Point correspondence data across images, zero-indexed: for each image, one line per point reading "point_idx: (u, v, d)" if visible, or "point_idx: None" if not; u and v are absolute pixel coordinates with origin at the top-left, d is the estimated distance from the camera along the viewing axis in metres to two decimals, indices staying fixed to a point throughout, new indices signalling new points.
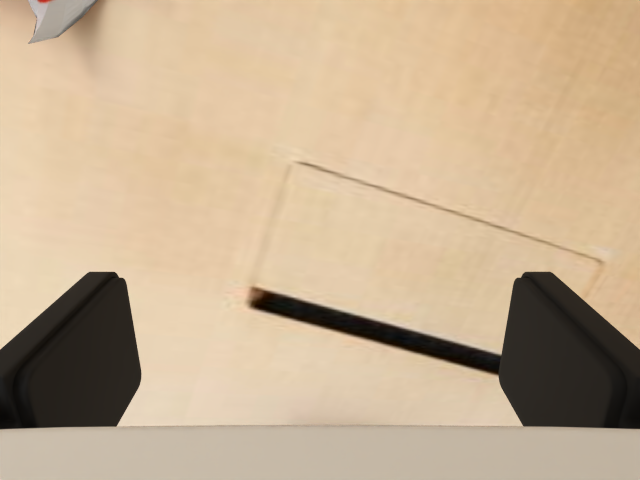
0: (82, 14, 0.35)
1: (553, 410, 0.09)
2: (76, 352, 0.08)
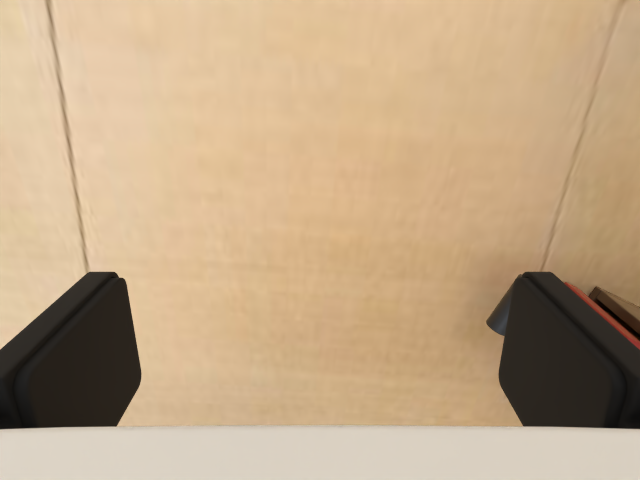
0: None
1: (553, 410, 0.09)
2: (76, 352, 0.08)
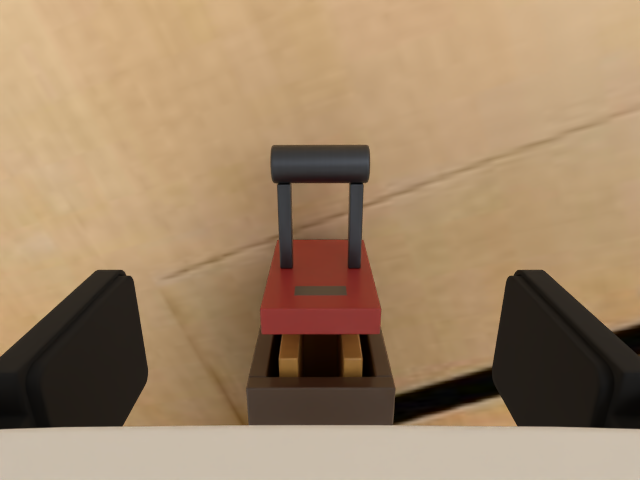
0: None
1: (544, 406, 0.09)
2: (86, 349, 0.08)
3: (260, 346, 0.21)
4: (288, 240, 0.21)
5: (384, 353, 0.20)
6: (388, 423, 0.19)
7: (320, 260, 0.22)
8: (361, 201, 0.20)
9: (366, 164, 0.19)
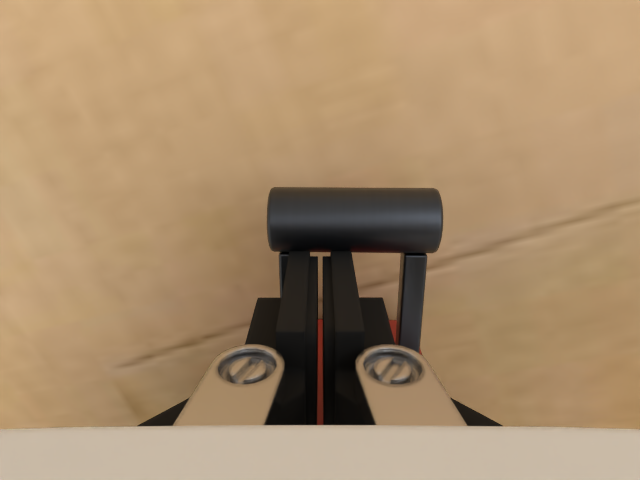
0: None
1: None
2: None
3: None
4: None
5: None
6: None
7: None
8: (422, 283, 0.12)
9: (437, 225, 0.11)
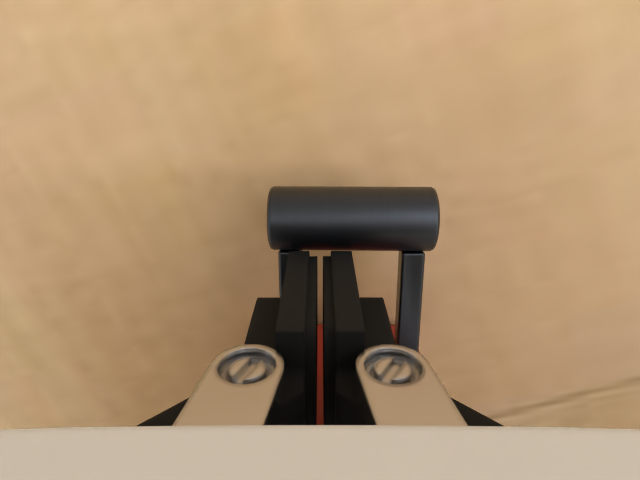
0: None
1: (323, 369, 0.10)
2: (316, 317, 0.09)
3: None
4: None
5: None
6: None
7: None
8: (420, 281, 0.12)
9: (434, 221, 0.11)
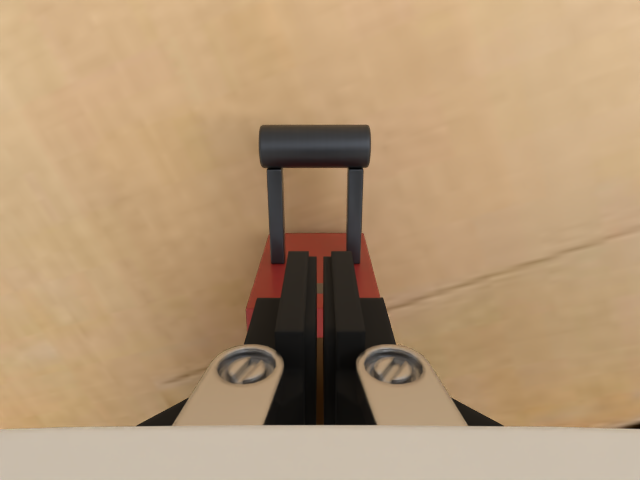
0: None
1: None
2: None
3: None
4: (279, 232, 0.19)
5: None
6: None
7: (315, 255, 0.20)
8: (361, 188, 0.18)
9: (366, 146, 0.17)
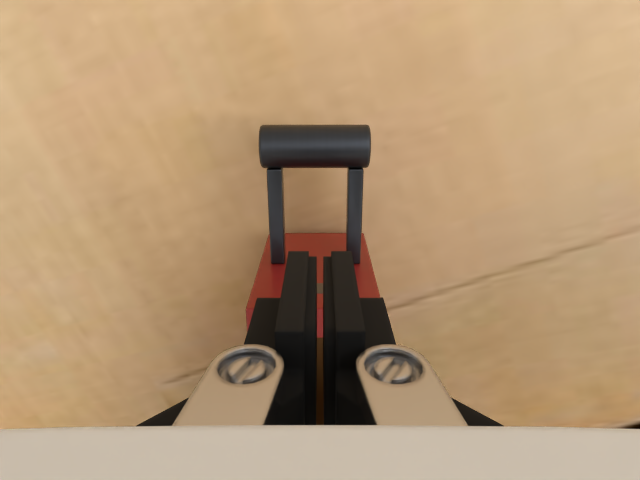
0: None
1: None
2: None
3: None
4: (279, 232, 0.19)
5: None
6: None
7: (315, 255, 0.20)
8: (361, 188, 0.18)
9: (366, 146, 0.17)
